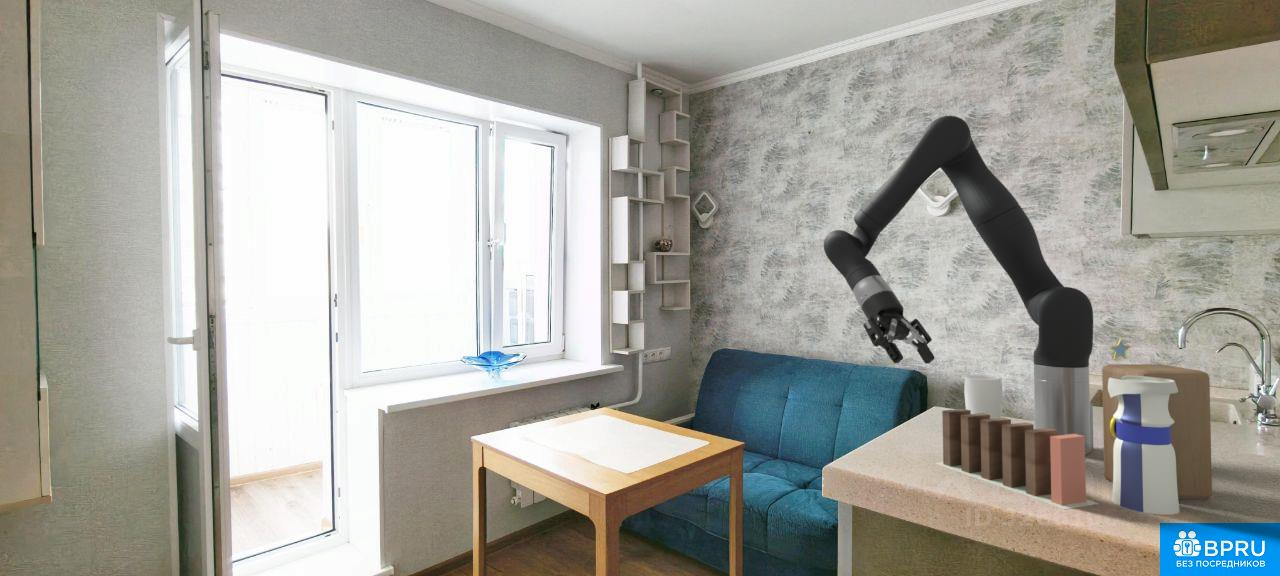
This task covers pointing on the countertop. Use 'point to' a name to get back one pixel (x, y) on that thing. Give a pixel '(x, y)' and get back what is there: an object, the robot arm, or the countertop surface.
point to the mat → (1019, 489)
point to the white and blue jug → (1143, 443)
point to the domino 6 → (1068, 469)
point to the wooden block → (1185, 431)
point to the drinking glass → (983, 394)
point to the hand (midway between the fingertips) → (915, 361)
